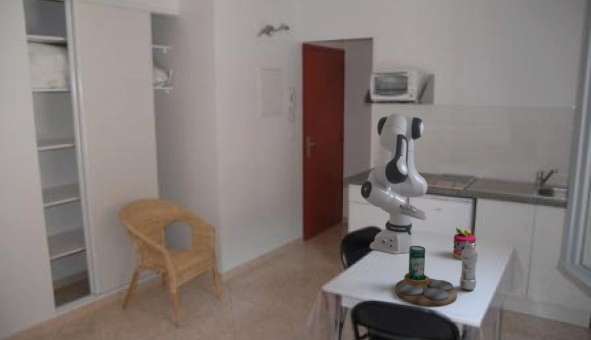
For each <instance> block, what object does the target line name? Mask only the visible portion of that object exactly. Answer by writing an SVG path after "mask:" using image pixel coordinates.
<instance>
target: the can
mask: <svg viewBox="0 0 591 340" xmlns="http://www.w3.org/2000/svg"><path fill="white" fill-rule="evenodd" d="M425 264H426V247H424V246H421V245H413V246H411V247H410V248H409V252H408V273H409V276H408V278H409V279H411V280H417V281H420V280H424V274H425Z"/></svg>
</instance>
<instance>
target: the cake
mask: <svg viewBox="0 0 591 340" xmlns="http://www.w3.org/2000/svg"><path fill="white" fill-rule="evenodd" d="M455 230H456V234H454V235H453V250H452V252H453V257H452V258H453V259H456V260H459V261H462V258H461V253H462V251H463V250H464V249H465V248H466V247H465V242H466V241H472V242H474V243H475V246H476V245H477V243H476V240H477V238H476V236H475V235H473V234H472V231H471V229H467V228H466V229H465V230H464V231H462V229H460V228H459V227H455ZM474 249H475V250H476V247H475V248H474Z"/></svg>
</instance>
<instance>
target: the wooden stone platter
mask: <svg viewBox="0 0 591 340" xmlns="http://www.w3.org/2000/svg"><path fill="white" fill-rule="evenodd" d="M408 276H409V272H408V273H406V274H405V275H404V277H403V279H401V280H399V281H398V282H396V284H395V294H396V295H397V297H399V298H400V299H401V300H403V301H405V302H407V303H409V304H412V305H416V306H417V305H418V306H423V307H443V306H448V305H449V306H450V305H452V304H453V303H455V302H456V301H457V298H458V297H457V296H458V290H457V289H456V288H455V287H454V286H453V284H452V283H451V282H450V281H447V280H442V279H435V278H430V277H429V276H428V275H426V274H425V273H424V280H420V281H417V280H411V279H409V278H408Z"/></svg>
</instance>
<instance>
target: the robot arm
mask: <svg viewBox="0 0 591 340" xmlns="http://www.w3.org/2000/svg"><path fill="white" fill-rule="evenodd" d="M423 122H424V121H423V120H422V119H421V118H420V117H416V116H413V117H411V116H404V115H403V114H400V113H392V114H390V115H389V116H381V118H379V119H378V122H377V125H376V131H377V134H378V136H379V143H380V146H381V147H382V148H383V149H384V150H386V151H388V152H390V153H391V154H390V155H391V156H390V157H391V158H390V160H389V161H388V162H386V163H384V164H383V165H380V166H378V167H376V168H374V169H373V170H371V171H370V172H369V173H368V176H367V179H366V181H364V182H363V183H362V185H361V187H360V196H361V197H362V198H363V199H364V200H365V201H366V202H368V203H369V204H371V205H373V206H375V207H377V208H379V209H381V210H382V211H384V212H386V213H388V214H389V219H388V220H387V221H386V222H385V224H384V225H385V228H384V229H382V230H381V231H380V232H378V233H377V234H376V235H375V236H374V241H372V242H371V243H370V244H369V248H370V250H373V251H374V250H376V251H378V252H379V251H380V252H384V253H388V254H394V255H398V254H399V255H400V254H406V253H407V254H409V248H410V247H411V246H414V245H413V241H412V234H413V224H412V218H413V219H418V220H421V221H426V220H427V216H426V211H424V210H423V209H421V208H419V207H416V206H414V205H411V204H408V203H406V201H405V198H418V197H424V195H426V194H427V191H428V183H427V180H426V179H425V177H423V176H422V175H420V173H419V172H418V170H417V168H416V166H415V158H414V157H415V156H414V155H415V152H414V151H415V141H416V140H418V139H421V137H422V135H423V133H424V131H425V130H424V129H425V126H424V123H423Z"/></svg>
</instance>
